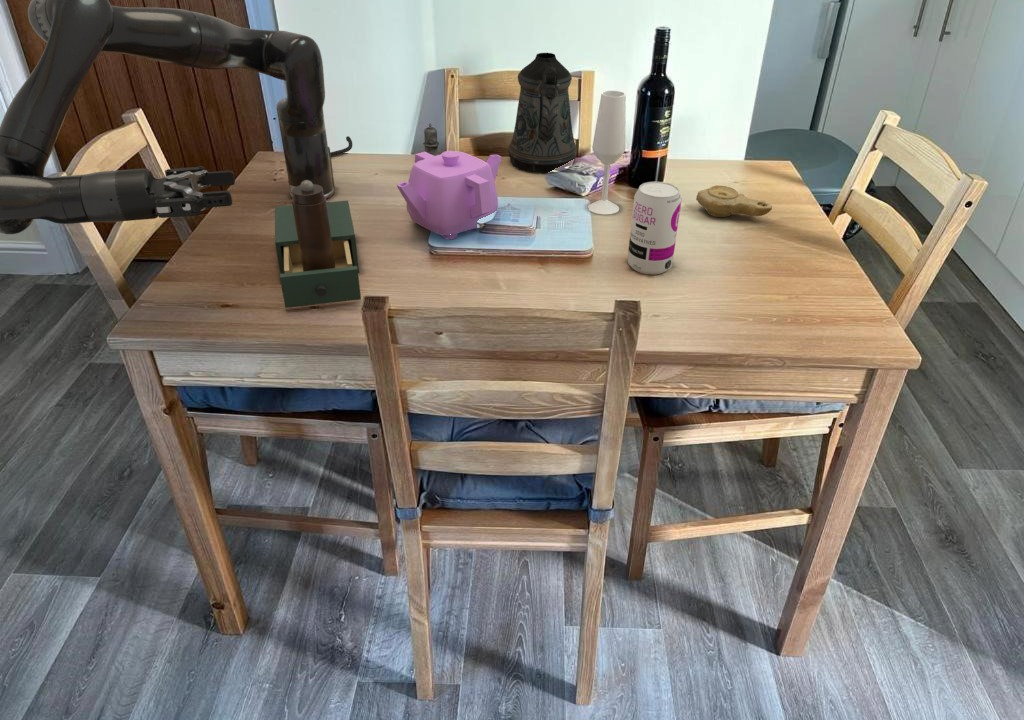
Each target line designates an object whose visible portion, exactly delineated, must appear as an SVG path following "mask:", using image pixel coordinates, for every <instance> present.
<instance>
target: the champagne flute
mask: <svg viewBox="0 0 1024 720" xmlns="http://www.w3.org/2000/svg"><path fill="white" fill-rule="evenodd" d="M626 97H627V95H626V93H625V92H624V91H620V90H611V89H610V90H609V89H608V90H603V91H602V92H601V94H600V100H599V105H598V112H597V118H596V123H595V124H596V125H595V129H594V134H593V141H592V152H593V154H594V155H595V157H596V158H597V160H598V161H599V162H601V163H602V164H603V166H604V167H603V176H602V177H603V179H602V187H601V199H599V200H596V201H594V202H592V203H590V204H589V205H588V206H587V209H588V210H589V211H590V212H591V213H594V214H596V215H597V214H598V215H613V214H616V213H618V212H619V210H620V207H619V206H618V205H617V204H616V203H613V202H612V201H610V200H609V199H608V193H609V182H610V172H611V165H612V164H614V163H615V162H617V161H619V160H620V159H621V157H622V156H624V154H625V152H626V117H627V116H626V114H627V113H626V112H627V111H626V108H627V107H626V106H627V105H626V104H627V103H626V99H627V98H626Z"/></svg>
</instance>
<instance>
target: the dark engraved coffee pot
mask: <svg viewBox="0 0 1024 720" xmlns="http://www.w3.org/2000/svg"><path fill="white" fill-rule="evenodd" d="M572 79H573V76H572V74H571V73H570V71H569V70H568V69H567V68H566V67H565V66H564V65H563V64H562V63H561V61H559V60H558V59H557V57H556V54H555V53H553V52H539V53H537V54H536V55H535V58H534V59H533V60H532V61H531V62H530V63H529V64H527V65H526V66H524V67H523V68H522V69H520V71H519V72H518V73H517V83H518V85H519V86H520V92H519V96H518V103H517V110H516V116H515V122H514V130H513V134H512V137H511V141H510V142H509V145H508V146H507V147H508V148H507V151H508V155H509V161H510V163H511V165H512V167H514V168H516V169H517V170H520V171H523V172H527V173H534V174H549V173H548V172H550V171H552V170H554V169H555V168H558V167H560V166H562V165H564V164H566V163H568V162H569V161H571V160H573V159H575V160H576V156H577V152H578V148H577V144H576V142H575V138H574V137H575V136H574V132H573V125H572V124H573V123H572V117H571V106H570V95H569V94H570V93H569V87H570V85H571V83H572V81H573V80H572Z"/></svg>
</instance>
